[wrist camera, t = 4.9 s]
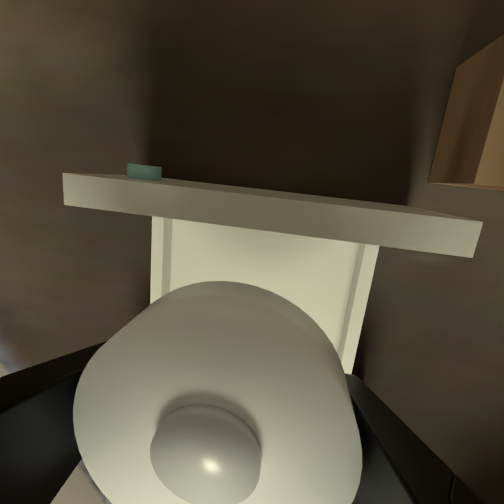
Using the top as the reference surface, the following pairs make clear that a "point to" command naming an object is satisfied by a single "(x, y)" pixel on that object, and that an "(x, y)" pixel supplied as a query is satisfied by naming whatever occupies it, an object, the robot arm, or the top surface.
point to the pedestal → (474, 124)
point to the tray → (272, 240)
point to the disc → (219, 404)
